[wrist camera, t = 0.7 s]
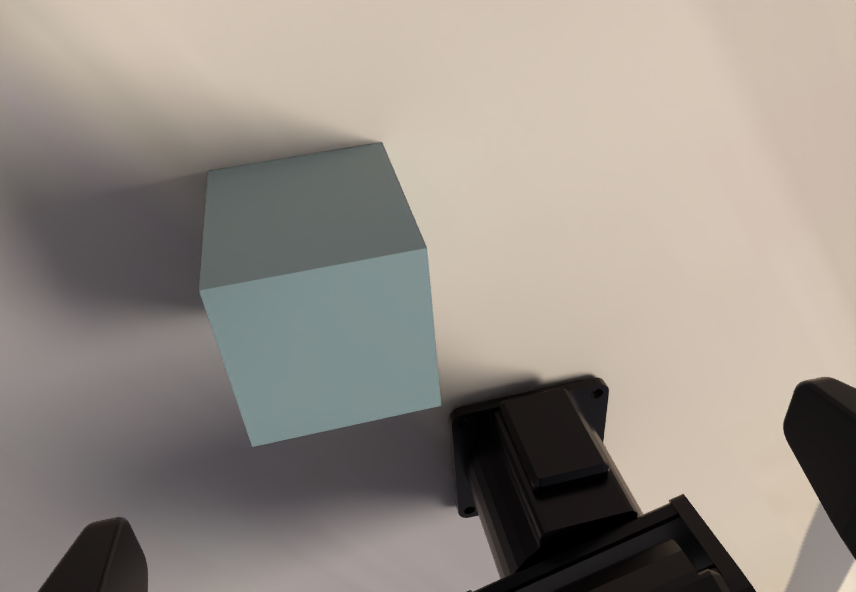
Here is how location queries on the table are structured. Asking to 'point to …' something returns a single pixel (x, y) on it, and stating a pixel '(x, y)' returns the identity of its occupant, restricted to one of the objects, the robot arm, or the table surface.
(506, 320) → the table surface
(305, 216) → the slate block
